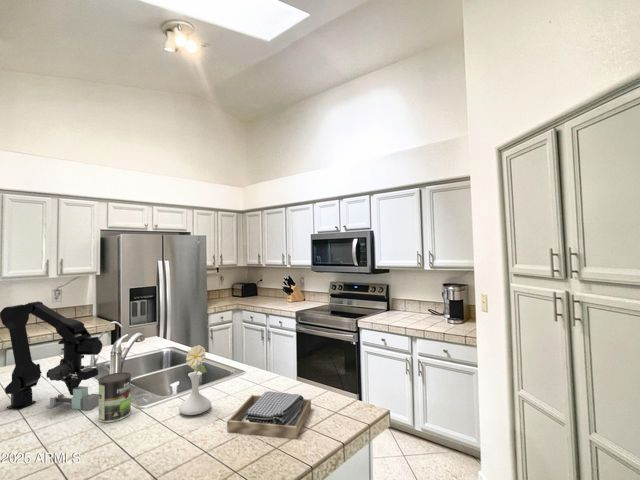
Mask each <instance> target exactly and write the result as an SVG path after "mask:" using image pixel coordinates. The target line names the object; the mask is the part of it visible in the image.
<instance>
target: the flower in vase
mask: <svg viewBox="0 0 640 480" xmlns="http://www.w3.org/2000/svg"><path fill="white" fill-rule="evenodd" d="M205 358H206V349H205V347H203V346H202V345H200V344H198V345H197V346H196V345H194V346H192V347H191V348H190V350H188V353H187V354H186V358H185V361H186V363H185V364H186V365H187V366H188V367H190V368H191V369H193V370H195V371H193V372H189V373H188V374H187V376H188V377H189V378H190V381H191V393H190V395H189V396H188V397H187V398H185V399H184V400H183V402H182V403H181V404H180V405H179V408H178V411H179V413H180V414H182V415H186V416H193V415H199V414H202V413H205V412H206V411H208V410H210V408H211V406H212V402H211V400H210V399H209V398H207V397H206V396H204V395H203V394H201V393H200V391H199V390H200V389H199V381H200V378H201V376H202V375H203V374H204V373H208V371H207V369H206V366H205V365H201V364H202V363H203V361H204V359H205ZM198 366H199V367H198ZM197 367H198V368H197Z"/></svg>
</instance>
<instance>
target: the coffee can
mask: <svg viewBox="0 0 640 480" xmlns="http://www.w3.org/2000/svg"><path fill="white" fill-rule="evenodd" d="M131 378H132V374H131V373H130V372H127V371H125V372H122V371H121V372H114V373H109V374H106V375H104V376H101V377H100V378H99V379H98V381H97V382H98V394H99V406H98V418H97V419H98V422H100V423H104V424H106V423H109V424H110V423H114V422H118V421H121V420H123V419H126V418H127V417H129V416H130V415H131V412H132V411H131V401H132V400H131V396H132V395H131V393H132V392H131V391H132V390H131V386H132V385H131V383H132V381H131Z"/></svg>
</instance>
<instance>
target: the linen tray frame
mask: <svg viewBox="0 0 640 480" xmlns="http://www.w3.org/2000/svg"><path fill="white" fill-rule="evenodd" d="M261 396H262V395H258V394H257V395H256V394H251V395H250V396H249V398H248V399H247V400H246V401H245V402H243V404H242V405H241V406H240V407H239V408H238V409H237V410H236V411H235V412H234V414H232V416H230V418H228V420H227V421H226V427H227V428H226V430H227V431H226V432H227V433H233V434H245V435H254V436H264V437H272V438H281V439H282V438H284V439H295V440H297V438H298V437H299V435H300V433H301V430H302V429H303V426H304V425H305V422H306V420H307V418H308V416H309V415H310V412H311V411H312V410H311V409H312V399H310V398H304V401H303V403H302V404H303V406H304V408H303V411H302V413H301V415H300V417H299V419H298V420H297V422H296V423H295V425H294V426H287V425H276V424H266V423H255V422H250V421H242V420H241V419H242V418H243V417H244V416H245V415H246V412H247V410H248V409H249V408H250V407H251V406H253V404H255V403H256V401H257V400H258V399H259V398H260V397H261Z"/></svg>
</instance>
